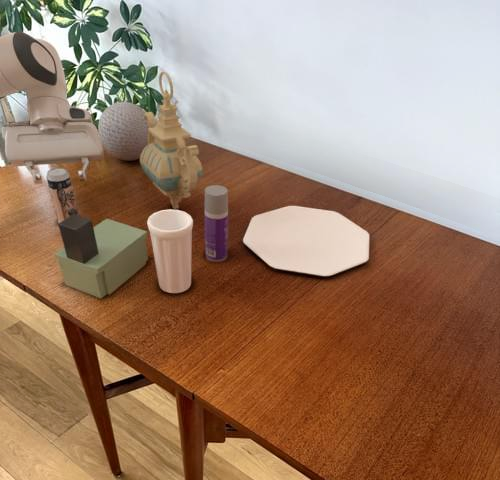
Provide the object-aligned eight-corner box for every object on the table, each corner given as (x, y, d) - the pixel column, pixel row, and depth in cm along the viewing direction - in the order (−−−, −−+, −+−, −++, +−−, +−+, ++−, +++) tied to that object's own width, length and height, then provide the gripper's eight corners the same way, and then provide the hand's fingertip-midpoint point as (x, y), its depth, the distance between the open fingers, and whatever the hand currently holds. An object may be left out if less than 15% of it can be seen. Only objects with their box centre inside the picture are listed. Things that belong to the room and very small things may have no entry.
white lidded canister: (71, 229, 104) (59, 178, 96) (54, 224, 106) (40, 174, 97) (84, 219, 108) (73, 169, 100) (67, 215, 109) (54, 165, 101)
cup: (197, 296, 89) (194, 231, 79) (154, 299, 88) (146, 233, 78) (194, 271, 95) (191, 208, 85) (154, 274, 94) (146, 209, 84)
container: (229, 260, 98) (231, 194, 88) (208, 263, 97) (207, 196, 87) (224, 248, 102) (225, 183, 91) (203, 251, 100) (201, 185, 90)
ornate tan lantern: (219, 224, 109) (219, 85, 88) (175, 237, 104) (164, 92, 84) (174, 183, 123) (165, 55, 103) (133, 193, 118) (115, 60, 98)
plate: (258, 205, 117) (259, 200, 116) (368, 221, 113) (370, 216, 112) (233, 267, 97) (233, 261, 96) (366, 288, 93) (368, 282, 92)
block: (66, 257, 84) (57, 223, 80) (82, 247, 87) (74, 213, 82) (84, 264, 83) (76, 229, 78) (98, 253, 86) (91, 219, 81)
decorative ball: (167, 159, 134) (162, 104, 124) (123, 174, 126) (115, 116, 116) (135, 144, 141) (129, 91, 131) (92, 157, 133) (82, 101, 123)
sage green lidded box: (62, 283, 90) (53, 253, 85) (112, 247, 100) (106, 218, 95) (103, 300, 87) (97, 269, 82) (150, 260, 97) (147, 231, 92)
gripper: (-5, 115, 97) (5, 180, 97) (96, 110, 102) (106, 172, 101) (4, 129, 103) (14, 190, 103) (99, 124, 108) (108, 183, 108)
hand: (61, 181), depth 102 cm, fingers open, 8 cm apart
